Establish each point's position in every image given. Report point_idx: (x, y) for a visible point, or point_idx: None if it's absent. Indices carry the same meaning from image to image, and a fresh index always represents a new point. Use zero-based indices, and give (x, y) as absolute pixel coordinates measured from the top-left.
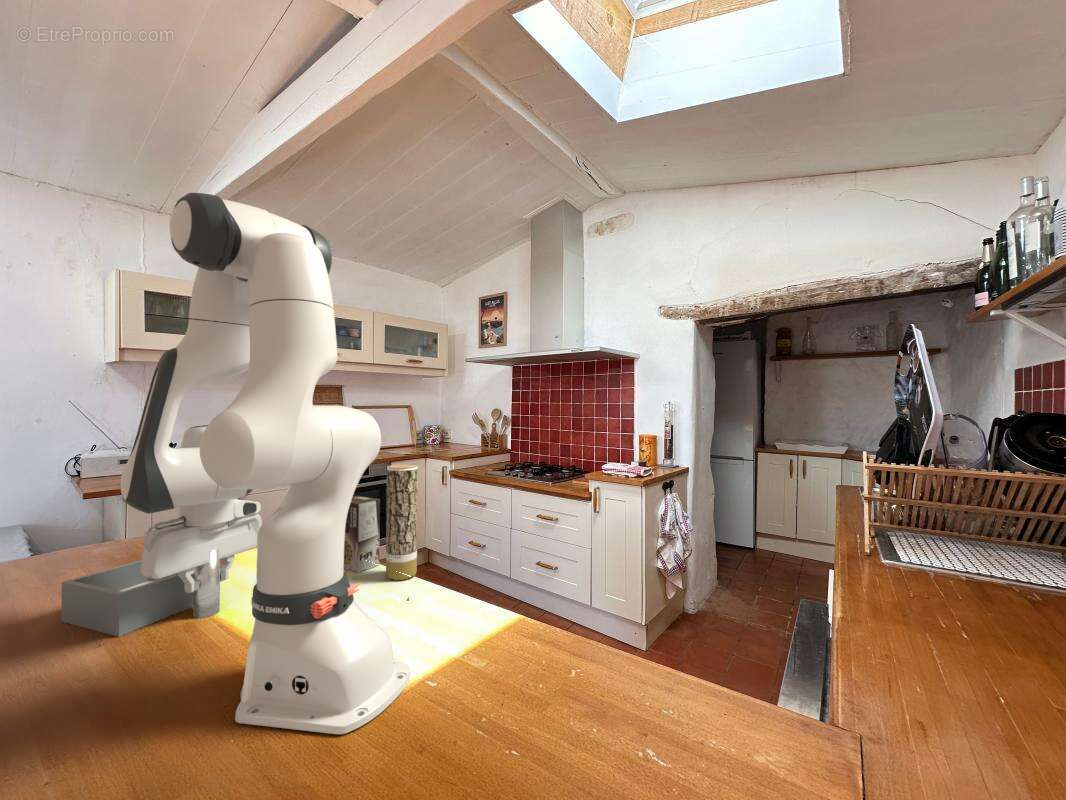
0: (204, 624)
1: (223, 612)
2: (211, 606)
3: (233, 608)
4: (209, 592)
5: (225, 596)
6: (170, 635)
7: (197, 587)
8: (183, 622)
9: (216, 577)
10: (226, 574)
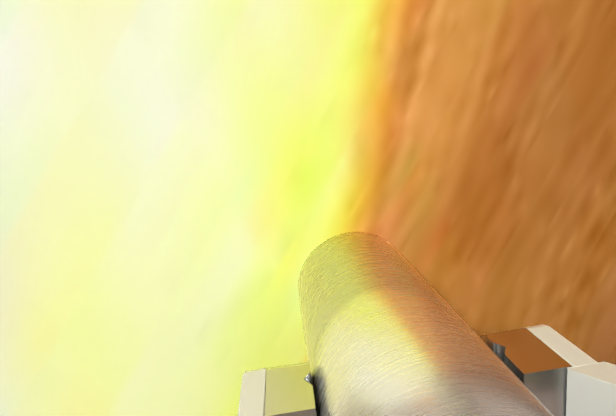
0: (433, 165)
1: (308, 220)
2: (373, 249)
3: (254, 223)
4: (415, 284)
5: (191, 406)
6: (561, 190)
7: (508, 340)
8: (458, 277)
9: (396, 339)
10: (257, 393)
